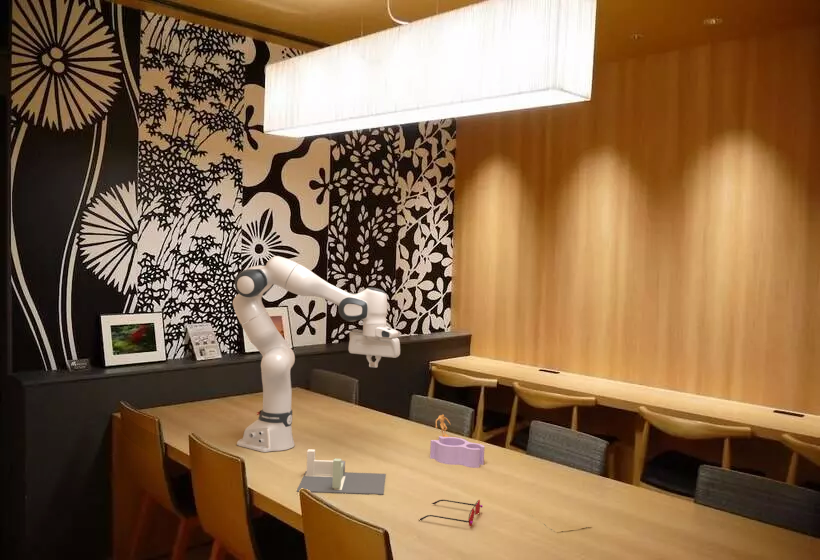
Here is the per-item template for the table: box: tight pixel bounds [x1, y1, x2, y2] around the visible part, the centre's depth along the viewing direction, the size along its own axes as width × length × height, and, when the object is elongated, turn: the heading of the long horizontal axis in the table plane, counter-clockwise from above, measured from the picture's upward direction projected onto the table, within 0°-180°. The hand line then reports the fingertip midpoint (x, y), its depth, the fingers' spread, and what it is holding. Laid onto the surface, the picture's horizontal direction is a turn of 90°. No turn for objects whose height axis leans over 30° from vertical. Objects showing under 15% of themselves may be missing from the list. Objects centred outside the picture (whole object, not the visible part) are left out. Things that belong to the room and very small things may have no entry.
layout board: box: [296, 470, 387, 496], centre depth 226 cm, size 28×19×1 cm
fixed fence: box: [306, 448, 333, 477], centre depth 231 cm, size 11×2×9 cm, turn 90°
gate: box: [332, 458, 346, 488], centre depth 225 cm, size 14×2×9 cm, turn 178°
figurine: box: [435, 414, 451, 437], centre depth 275 cm, size 8×6×12 cm
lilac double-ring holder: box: [429, 435, 485, 469], centre depth 254 cm, size 20×12×7 cm, turn 59°
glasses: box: [419, 499, 483, 527], centre depth 201 cm, size 14×16×5 cm
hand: (373, 367), depth 254 cm, fingers closed
